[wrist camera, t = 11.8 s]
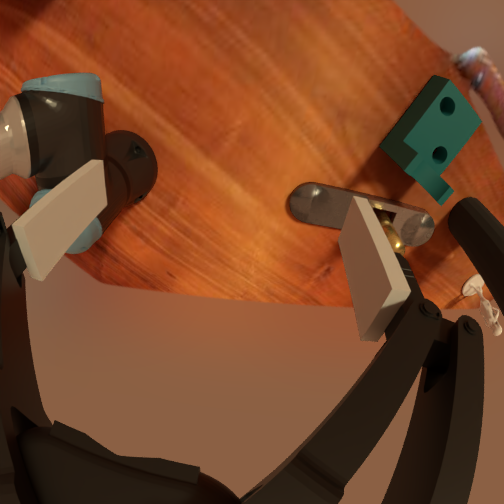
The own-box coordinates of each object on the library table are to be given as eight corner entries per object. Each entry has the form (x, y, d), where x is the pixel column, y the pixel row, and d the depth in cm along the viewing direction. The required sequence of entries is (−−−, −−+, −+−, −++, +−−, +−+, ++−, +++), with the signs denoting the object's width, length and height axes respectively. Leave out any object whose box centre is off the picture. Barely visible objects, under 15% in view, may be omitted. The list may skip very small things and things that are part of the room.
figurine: (468, 274, 61) (496, 325, 46) (488, 273, 60) (516, 322, 46) (457, 296, 65) (481, 347, 51) (477, 294, 65) (501, 343, 50)
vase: (468, 241, 55) (528, 339, 31) (440, 229, 54) (504, 337, 30) (488, 205, 49) (563, 298, 25) (461, 190, 48) (544, 289, 24)
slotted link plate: (285, 215, 56) (285, 222, 54) (294, 178, 52) (294, 183, 50) (421, 242, 57) (424, 249, 55) (435, 212, 52) (440, 218, 50)
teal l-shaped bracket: (415, 178, 49) (441, 206, 41) (379, 146, 46) (403, 170, 38) (466, 113, 39) (500, 132, 31) (434, 74, 36) (469, 86, 28)
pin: (366, 221, 55) (382, 258, 46) (372, 205, 53) (390, 241, 44) (382, 224, 55) (400, 261, 46) (388, 209, 53) (408, 245, 44)
